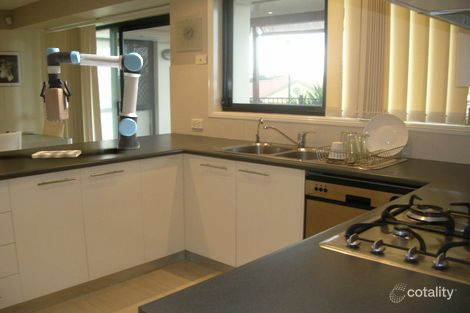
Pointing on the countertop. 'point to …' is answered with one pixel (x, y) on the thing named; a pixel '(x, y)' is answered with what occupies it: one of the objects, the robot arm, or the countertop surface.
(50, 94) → the block
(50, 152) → the board
